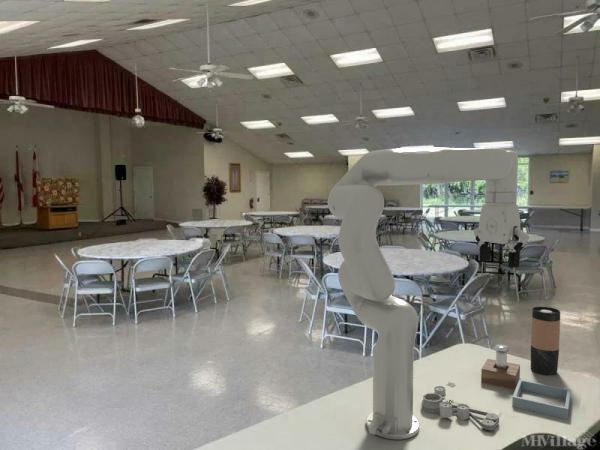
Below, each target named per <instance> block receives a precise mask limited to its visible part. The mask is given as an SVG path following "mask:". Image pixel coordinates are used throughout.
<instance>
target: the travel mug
mask: <svg viewBox="0 0 600 450" xmlns="http://www.w3.org/2000/svg"><path fill="white" fill-rule="evenodd" d="M531 313H532V314H531V332H530V334H531V335H530V371H532V372H534V373H535V374H537V375H543V376H549V377H550V376H556V375H557V374H558V368H559V367H558V365H559V354H560V333H561V332H560V331H561V330H560V329H561V310H559V309H557V308H555V307H548V306H534V307H533V308H532V312H531Z"/></svg>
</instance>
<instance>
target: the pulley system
mask: <svg viewBox="0 0 600 450" xmlns="http://www.w3.org/2000/svg"><path fill="white" fill-rule="evenodd" d="M445 386H447V387H450V388H454V387H456V384H455V383H454V382H451V381H449V382H448V383H446V384H445ZM433 390H434V392H429V393H425V394H423V395H422V399H423V400H421V409H422V410H423V411H424V412H425V413H428V414H432V415H440V417H443V418H445V419H446V418H452V416H453V415H455V414H456V415H457V418H458V420H461V421H463V420H464V421H466V420H469V419H470V417H471V418H472V420H473V421H475V422H476V423H477V424H478V425H479V426H480V427H481V428H482V429H484V430H486V431H494V430H495V429H496V428H497V425H498V424H499V423H500V416H499V415H498V414H496V413H494V412H493V413H491V412H488V411H487V412H486V411H482V410H478V409H472V408H470V406H469V405H468V404H466V403H459V404H457V405H456V404H452V403H451V400H452V399H449V401H443V400H444V399H445V400H446V398H445V397H444V398H443V396H445V395H446V394H447V393H446V392H447V391H446V387H444V386H443V385H438V386H434V389H433ZM473 414H476V415H480V416H484V417H485V419H484V418H483V419H482V420H480V419H478V418H477V417H476V416H475V415H473Z"/></svg>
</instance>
